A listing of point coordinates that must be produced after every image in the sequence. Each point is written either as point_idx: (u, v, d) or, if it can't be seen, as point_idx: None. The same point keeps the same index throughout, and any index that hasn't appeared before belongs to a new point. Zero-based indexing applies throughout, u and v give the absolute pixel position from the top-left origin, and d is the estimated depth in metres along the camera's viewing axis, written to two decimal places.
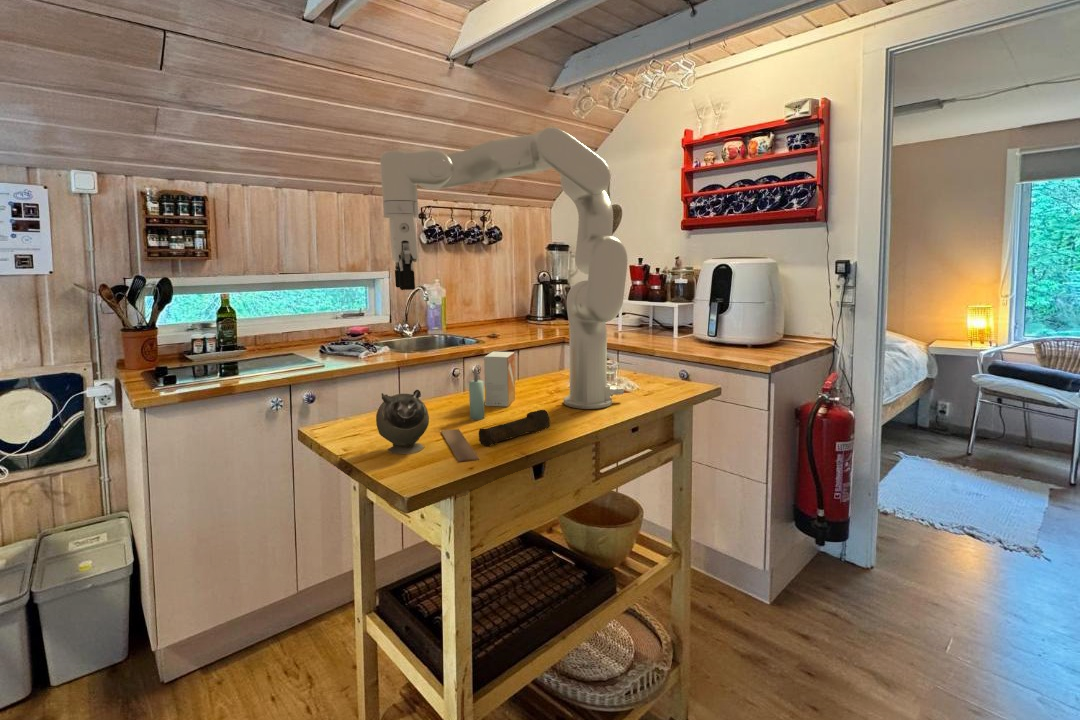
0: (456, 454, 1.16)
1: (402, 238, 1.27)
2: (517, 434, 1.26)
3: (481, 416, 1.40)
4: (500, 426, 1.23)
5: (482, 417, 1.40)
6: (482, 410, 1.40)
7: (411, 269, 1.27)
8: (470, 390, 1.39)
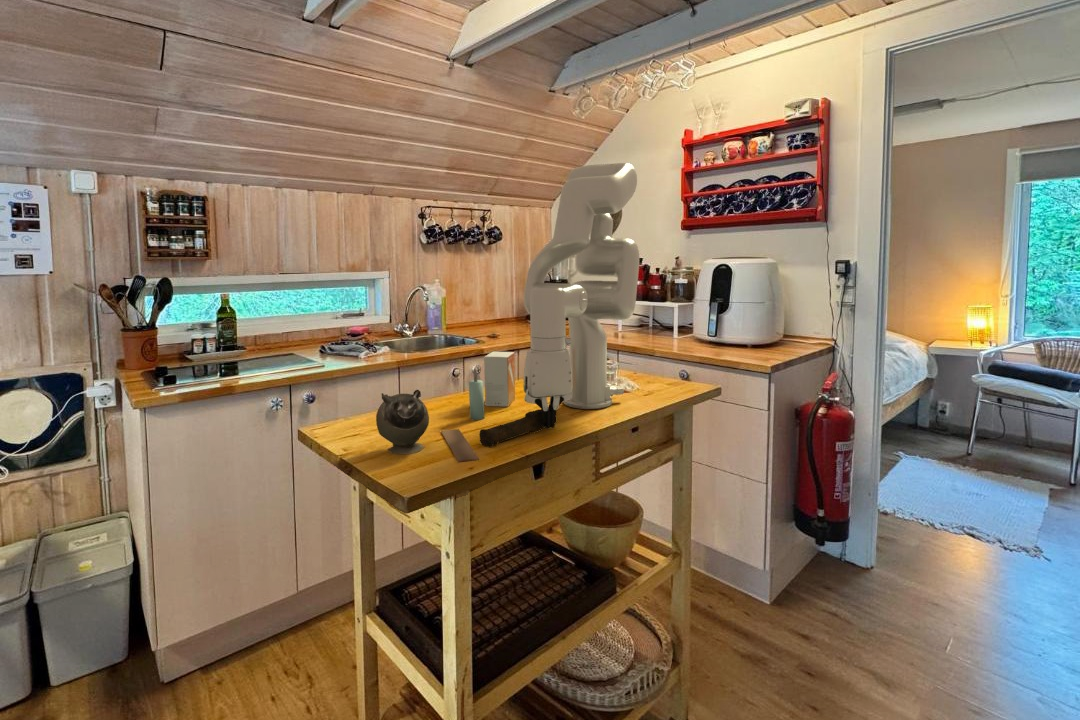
0: (456, 454, 1.16)
1: None
2: (517, 434, 1.26)
3: (481, 415, 1.40)
4: (501, 426, 1.23)
5: (482, 417, 1.40)
6: (482, 410, 1.40)
7: None
8: (470, 390, 1.39)
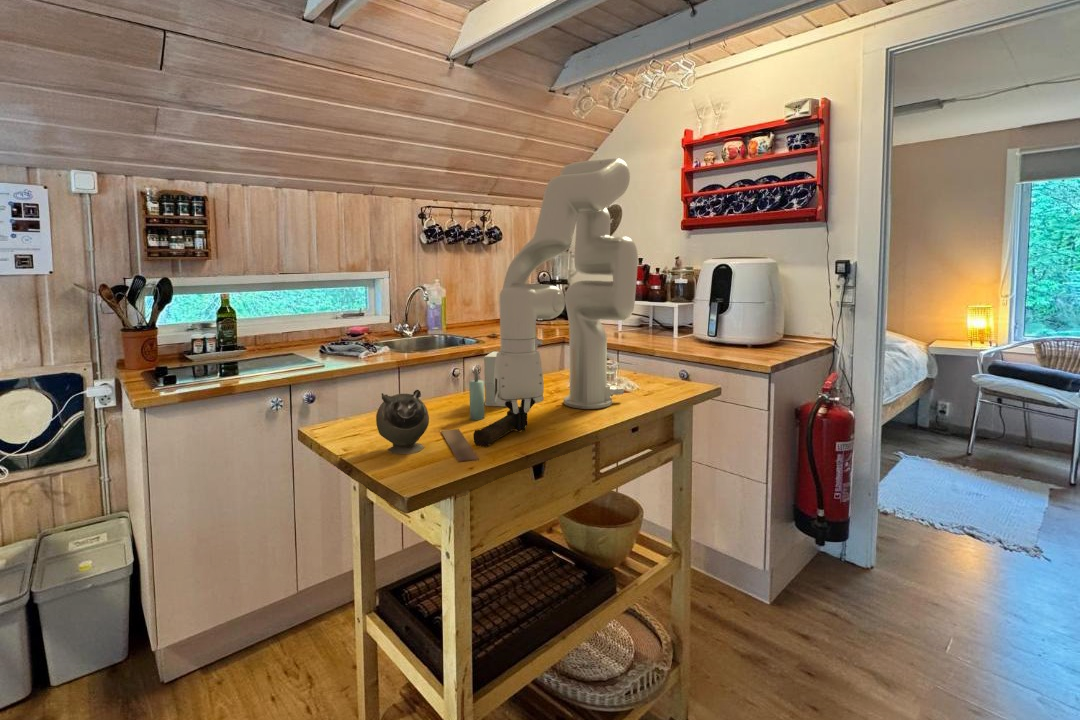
0: (456, 454, 1.16)
1: None
2: (506, 432, 1.27)
3: (481, 416, 1.40)
4: (493, 425, 1.23)
5: (482, 417, 1.40)
6: (482, 410, 1.40)
7: None
8: (470, 390, 1.39)
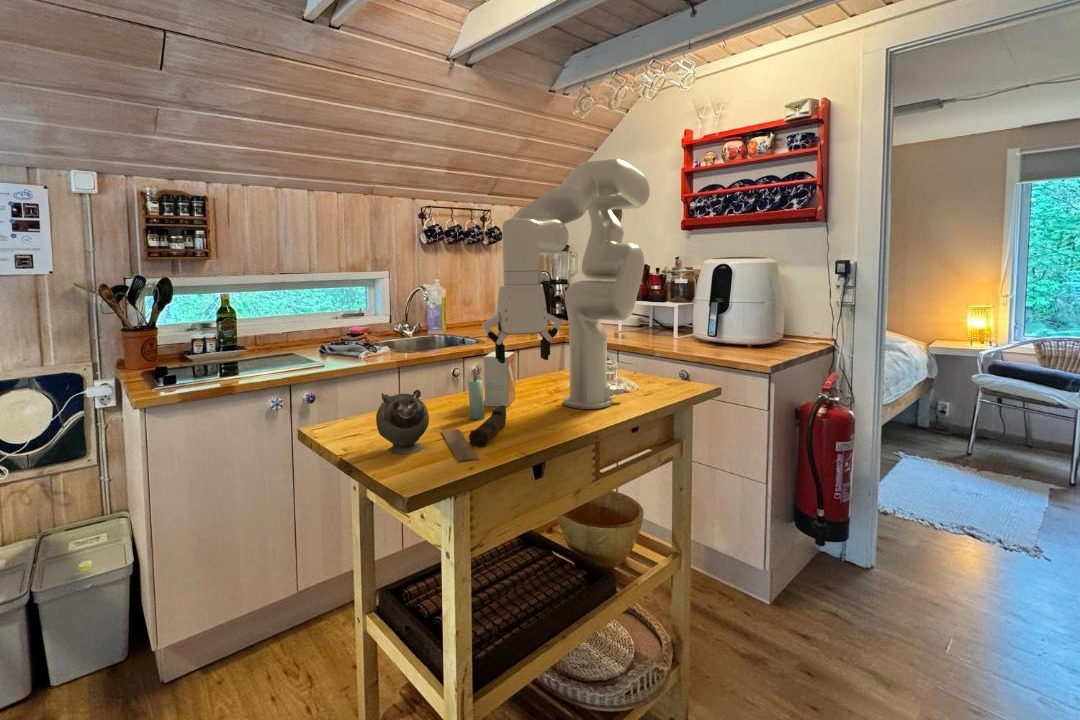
0: (456, 454, 1.16)
1: None
2: (496, 431, 1.28)
3: (481, 415, 1.40)
4: (486, 425, 1.24)
5: (482, 417, 1.40)
6: (482, 410, 1.40)
7: None
8: (470, 390, 1.39)
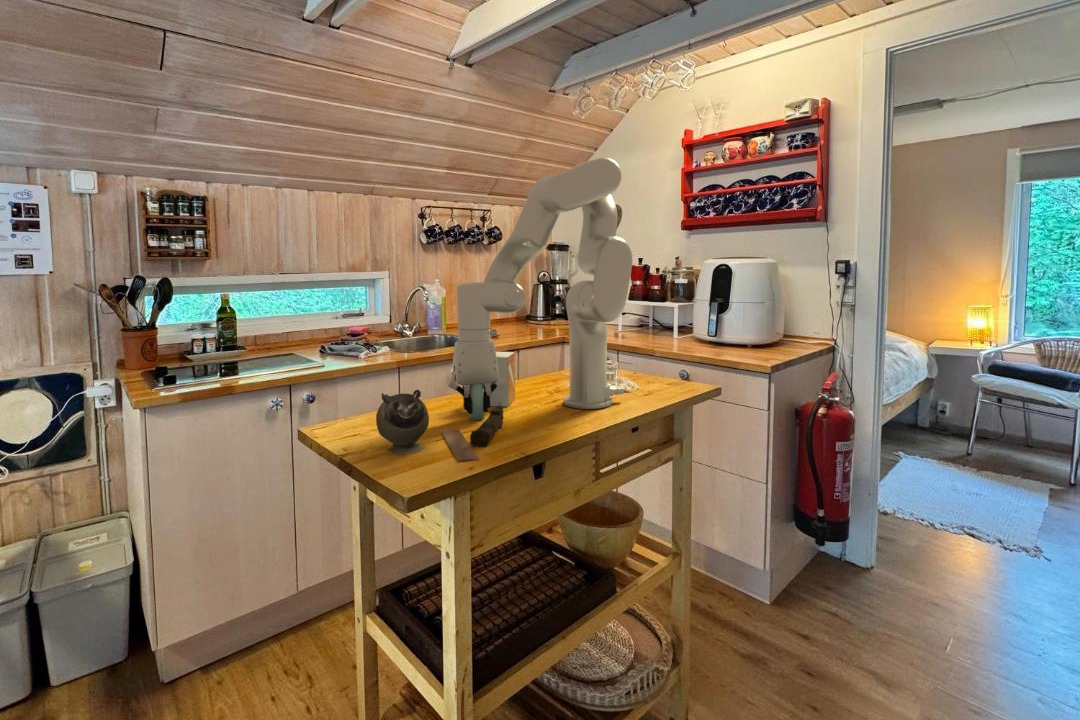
0: (456, 454, 1.16)
1: None
2: (495, 431, 1.28)
3: (481, 415, 1.40)
4: (487, 425, 1.24)
5: (482, 417, 1.40)
6: (482, 410, 1.40)
7: None
8: (470, 390, 1.39)
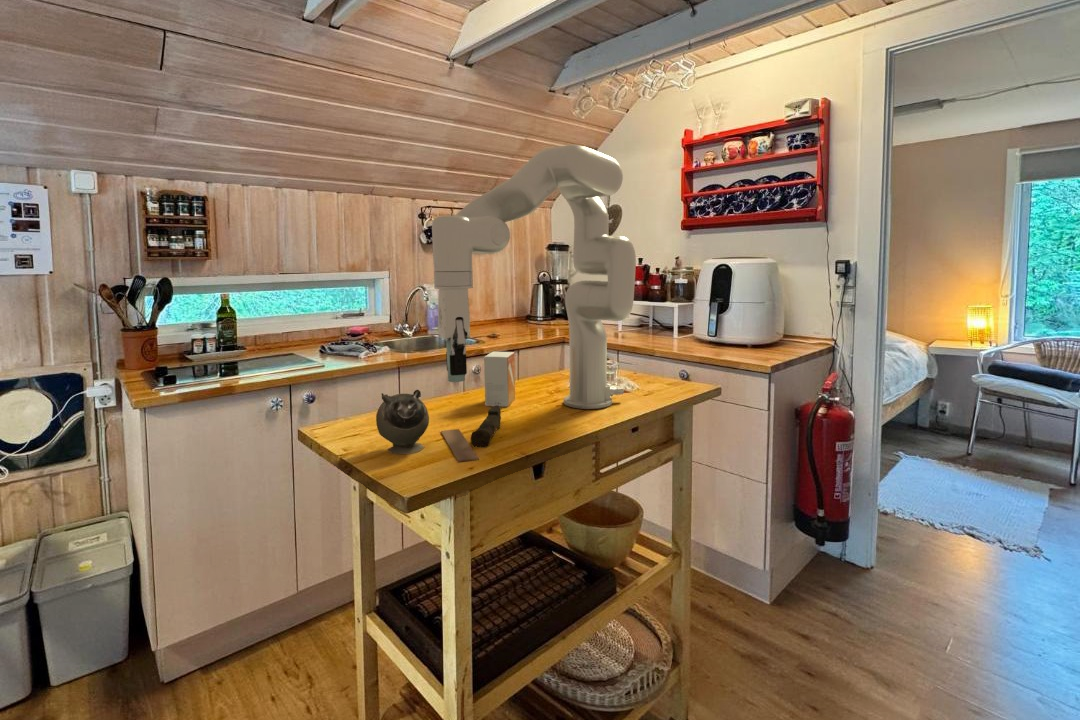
0: (456, 454, 1.16)
1: None
2: (494, 431, 1.28)
3: None
4: (486, 425, 1.24)
5: None
6: None
7: None
8: None
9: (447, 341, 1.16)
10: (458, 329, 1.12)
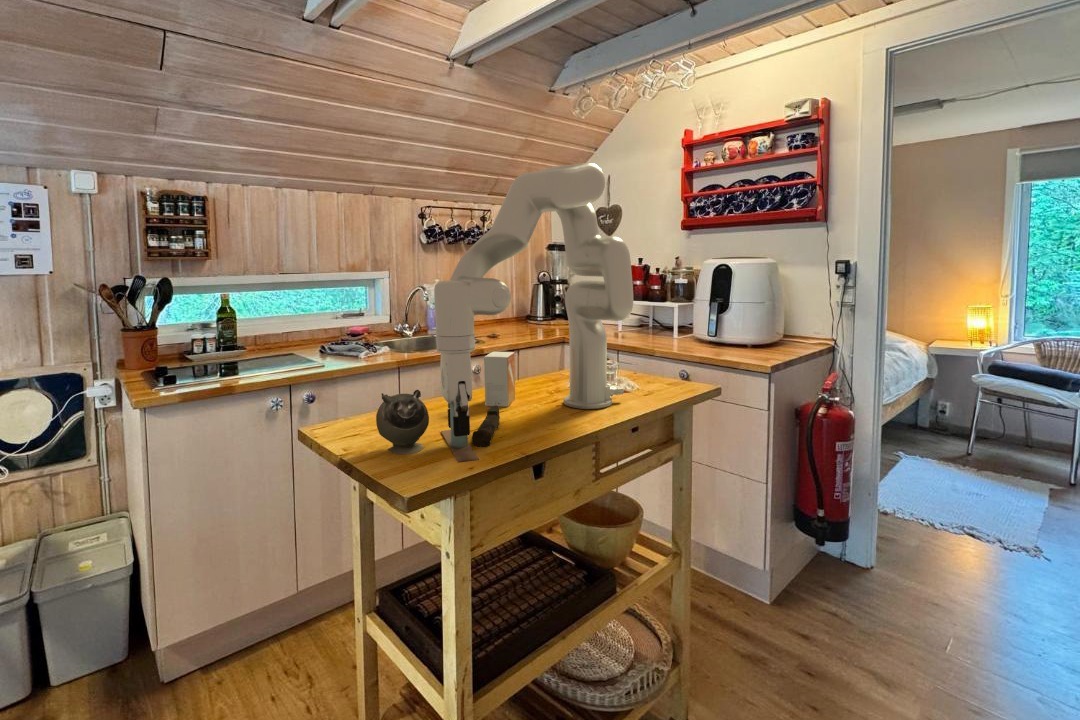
0: (456, 454, 1.16)
1: None
2: (494, 431, 1.28)
3: None
4: (487, 425, 1.24)
5: None
6: None
7: None
8: None
9: (451, 408, 1.19)
10: (461, 391, 1.13)
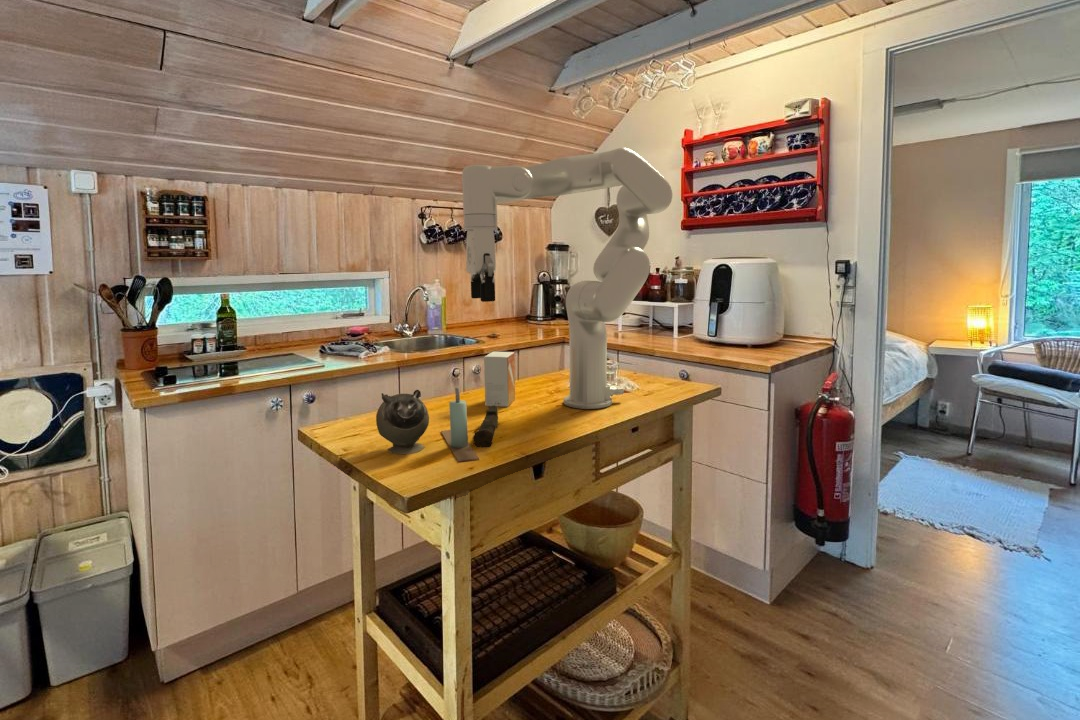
0: (456, 454, 1.16)
1: None
2: None
3: None
4: (488, 425, 1.24)
5: None
6: None
7: None
8: (463, 412, 1.19)
9: (450, 408, 1.19)
10: (486, 257, 1.28)
